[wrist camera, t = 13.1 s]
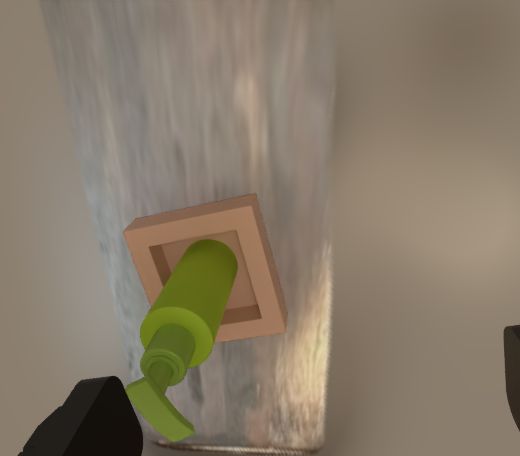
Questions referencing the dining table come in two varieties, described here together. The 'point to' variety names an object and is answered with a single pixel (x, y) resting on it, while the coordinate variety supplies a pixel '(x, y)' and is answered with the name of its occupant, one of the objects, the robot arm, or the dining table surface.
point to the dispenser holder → (231, 234)
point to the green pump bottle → (182, 331)
